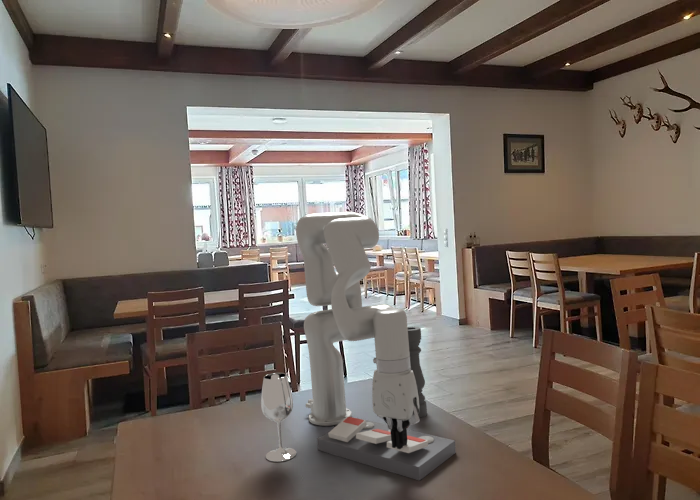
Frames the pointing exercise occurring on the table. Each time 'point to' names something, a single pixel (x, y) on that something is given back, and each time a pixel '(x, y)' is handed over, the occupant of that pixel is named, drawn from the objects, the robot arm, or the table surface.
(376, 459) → the power strip
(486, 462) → the table surface
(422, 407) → the candle holder
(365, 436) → the rocker
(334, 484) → the table surface
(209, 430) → the table surface
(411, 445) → the rocker
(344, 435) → the rocker
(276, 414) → the wineglass
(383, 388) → the robot arm
